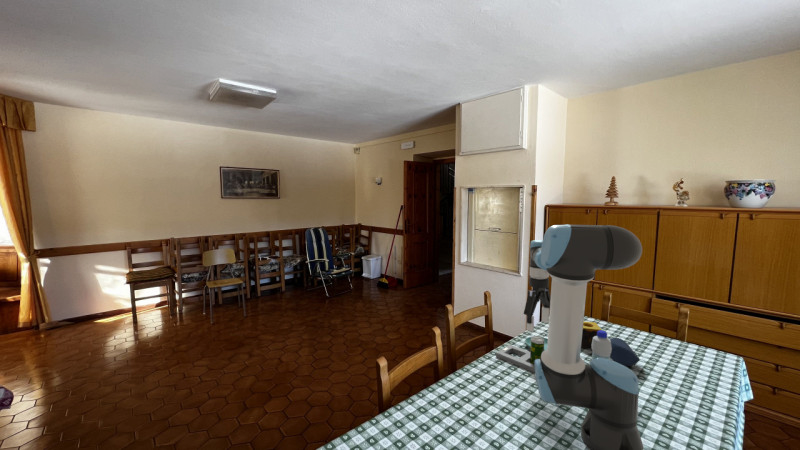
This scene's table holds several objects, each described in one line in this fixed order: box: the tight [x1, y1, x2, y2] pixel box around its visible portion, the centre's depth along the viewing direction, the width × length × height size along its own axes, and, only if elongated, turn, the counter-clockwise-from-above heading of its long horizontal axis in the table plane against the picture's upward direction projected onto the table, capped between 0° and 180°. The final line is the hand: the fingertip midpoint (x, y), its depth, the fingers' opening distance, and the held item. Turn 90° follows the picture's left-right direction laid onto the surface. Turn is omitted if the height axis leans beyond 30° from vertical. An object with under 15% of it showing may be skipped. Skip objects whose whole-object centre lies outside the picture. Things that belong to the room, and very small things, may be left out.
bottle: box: [591, 329, 612, 360], centre depth 123 cm, size 7×7×20 cm
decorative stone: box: [609, 337, 641, 367], centre depth 136 cm, size 12×12×10 cm
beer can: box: [529, 335, 544, 364], centre depth 135 cm, size 5×5×12 cm
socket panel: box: [495, 344, 535, 374], centre depth 139 cm, size 12×22×2 cm, turn 41°
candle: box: [581, 320, 602, 350], centre depth 155 cm, size 10×10×10 cm
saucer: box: [524, 336, 548, 351], centre depth 152 cm, size 15×15×3 cm
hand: (537, 326), depth 134 cm, fingers open, 13 cm apart
